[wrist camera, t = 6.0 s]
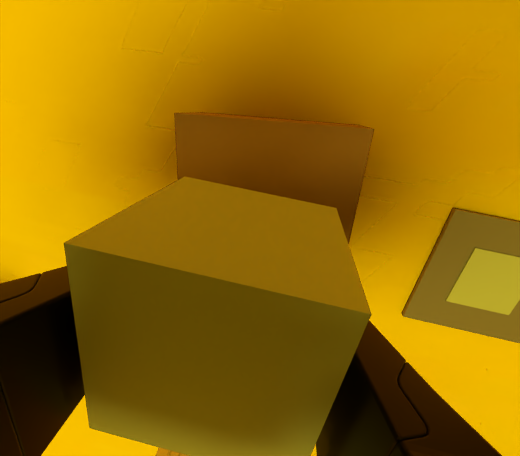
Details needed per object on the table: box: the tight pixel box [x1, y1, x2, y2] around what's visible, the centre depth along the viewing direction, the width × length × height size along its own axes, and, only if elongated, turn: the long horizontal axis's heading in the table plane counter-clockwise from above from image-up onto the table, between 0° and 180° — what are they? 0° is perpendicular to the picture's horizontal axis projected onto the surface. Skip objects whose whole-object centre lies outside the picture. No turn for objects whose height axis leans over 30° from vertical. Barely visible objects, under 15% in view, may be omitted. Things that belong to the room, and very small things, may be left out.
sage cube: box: [64, 177, 371, 456], centre depth 8 cm, size 5×5×5 cm
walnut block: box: [174, 112, 374, 245], centre depth 16 cm, size 9×9×4 cm
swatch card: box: [402, 208, 520, 343], centre depth 17 cm, size 8×8×1 cm
